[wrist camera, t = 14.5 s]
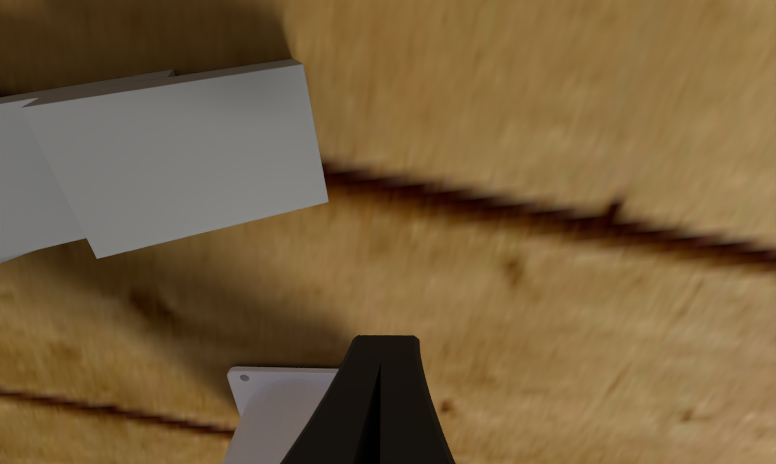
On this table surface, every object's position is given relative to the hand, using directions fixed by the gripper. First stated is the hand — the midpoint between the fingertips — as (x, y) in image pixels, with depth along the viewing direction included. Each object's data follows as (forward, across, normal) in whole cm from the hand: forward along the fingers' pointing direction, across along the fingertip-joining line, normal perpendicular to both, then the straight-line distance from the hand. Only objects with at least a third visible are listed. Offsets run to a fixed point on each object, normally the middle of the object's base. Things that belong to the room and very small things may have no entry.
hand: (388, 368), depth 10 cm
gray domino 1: (+9, +3, -3) cm, 10 cm away
